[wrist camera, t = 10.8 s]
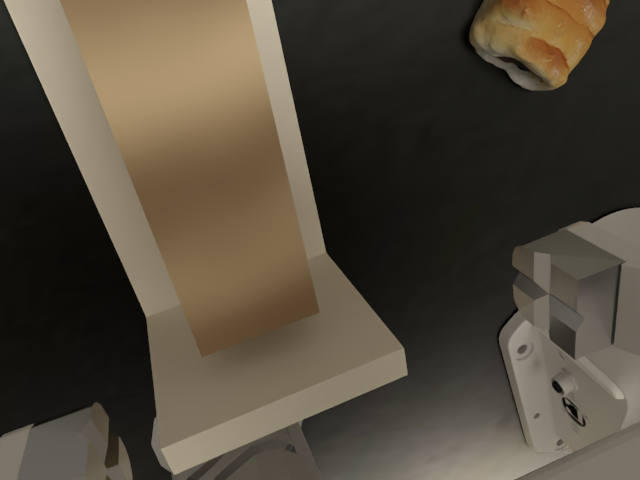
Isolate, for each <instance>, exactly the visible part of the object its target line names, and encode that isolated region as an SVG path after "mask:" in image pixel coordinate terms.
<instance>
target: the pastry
mask: <svg viewBox="0 0 640 480" xmlns="http://www.w3.org/2000/svg"><path fill="white" fill-rule="evenodd" d="M608 4H609V0H483V2H482V4H481V6H480V8H479V10H478V11H477V13H476V16H475V18H474V21H473V23H472V25H471V28H470V34H469V40H470V43H471V45H473V46H474V47H475V50H476V52H477V53H478V54H479V55H480V56H481V57H482V58H483V59H484V60H485V61H487V62H490V63H492V64H494V65H495V66H497V67H499V68H502V69H505V70H506V71H507V73H508V74H509V77H510V78H511V79H512V80H513V81H514V82H515V83H516V84H519V85H520V86H521V87H523V88H525V89H529V90H553V89H555V88H558V87H560V86H561V85H563V84H565V83H566V81H567V76H568V74H569V73H570V72H571V71H572V69H573V68H574V67H575V66H576V65H577V64H578V62H579V61H580V60H581V58H582V57H583V56H584V55H585V53H586V51H587V50H588V48H589V46H590V44H591V41H592V39H593V37H594V36H595V35H596V34H597V33H598V32H599V31H600V30H601V28H602V27H603V25H604V23H605V20H606V9H607V7H608Z"/></svg>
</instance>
